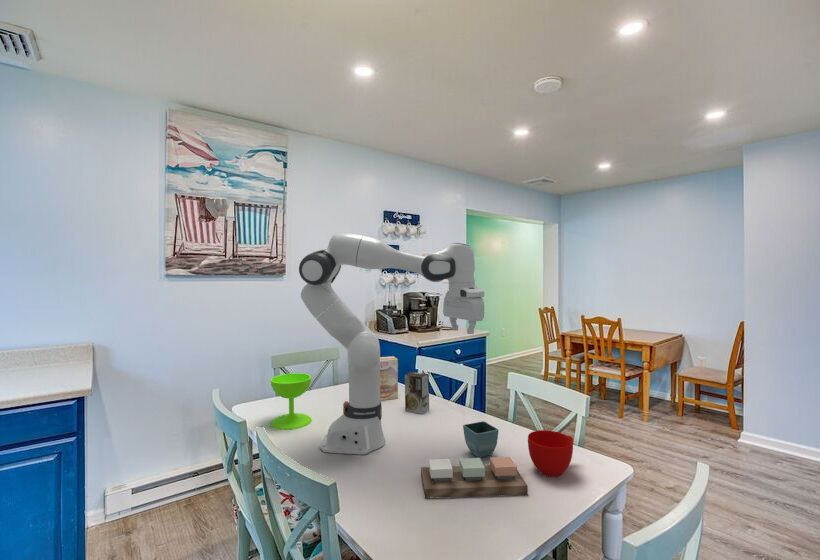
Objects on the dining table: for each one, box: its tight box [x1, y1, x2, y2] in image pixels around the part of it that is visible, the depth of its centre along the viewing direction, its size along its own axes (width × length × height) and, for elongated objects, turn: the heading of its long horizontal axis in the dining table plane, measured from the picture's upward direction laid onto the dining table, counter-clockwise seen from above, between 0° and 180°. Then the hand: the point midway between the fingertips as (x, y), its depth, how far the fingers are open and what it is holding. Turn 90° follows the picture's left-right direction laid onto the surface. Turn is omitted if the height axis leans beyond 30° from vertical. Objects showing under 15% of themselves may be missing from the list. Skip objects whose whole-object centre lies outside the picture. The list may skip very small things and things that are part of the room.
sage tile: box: [458, 457, 485, 481], centre depth 112 cm, size 6×6×5 cm
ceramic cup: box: [527, 429, 574, 478], centre depth 121 cm, size 13×17×10 cm
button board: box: [420, 464, 529, 499], centre depth 112 cm, size 28×12×2 cm, turn 93°
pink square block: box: [489, 456, 518, 480], centre depth 113 cm, size 6×6×5 cm
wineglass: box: [270, 372, 313, 431], centre depth 161 cm, size 16×16×18 cm
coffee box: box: [404, 371, 430, 415], centre depth 173 cm, size 9×6×16 cm
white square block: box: [428, 458, 453, 482], centre depth 112 cm, size 6×6×5 cm
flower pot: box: [462, 420, 500, 459], centre depth 132 cm, size 9×9×9 cm
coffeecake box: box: [380, 355, 399, 402], centre depth 191 cm, size 15×7×20 cm, turn 111°
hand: (462, 332), depth 133 cm, fingers open, 8 cm apart
